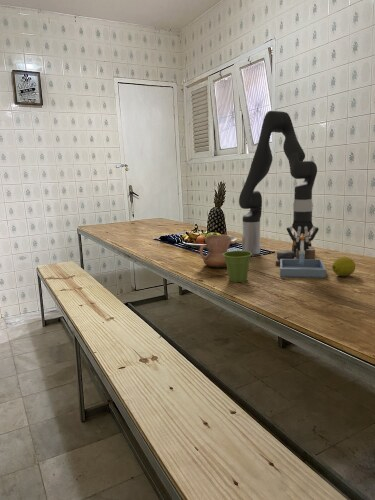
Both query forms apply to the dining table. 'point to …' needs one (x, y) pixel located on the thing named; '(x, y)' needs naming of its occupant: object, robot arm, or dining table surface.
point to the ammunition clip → (295, 242)
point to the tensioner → (294, 255)
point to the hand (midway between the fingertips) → (301, 250)
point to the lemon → (343, 266)
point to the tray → (302, 268)
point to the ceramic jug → (216, 250)
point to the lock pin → (301, 249)
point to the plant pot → (237, 265)
